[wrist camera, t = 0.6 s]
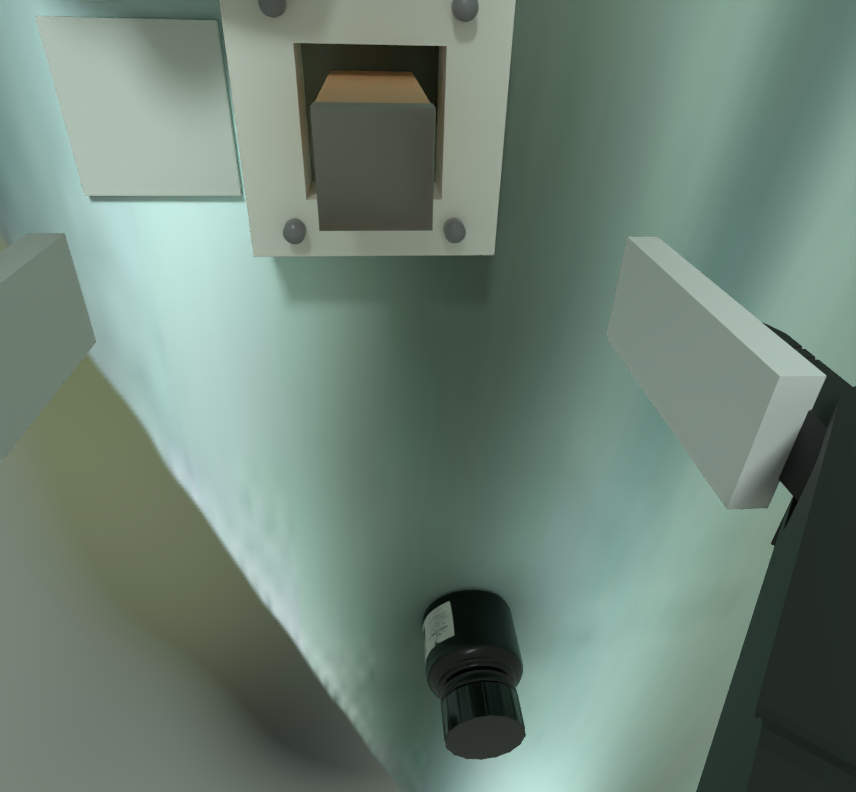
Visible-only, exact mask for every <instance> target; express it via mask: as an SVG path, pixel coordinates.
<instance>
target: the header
mask: <svg viewBox="0 0 856 792" xmlns="http://www.w3.org/2000/svg"><path fill="white" fill-rule="evenodd" d="M515 1H516V0H219V4H220V11H221V18H222V26H223V33H224V40H225V48H226V55H227V62H228V70H229V77H230V84H231V92H232V99H233V106H234V114H235V121H236V128H237V136H238V143H239V150H240V158H241V165H242V172H243V180H244V187H245V194H246V202H247V209H248V216H249V224H250V231H251V238H252V246H253V253H254V257H295V256H429V255H494V252H495V240H496V228H497V216H498V204H499V192H500V180H501V168H502V156H503V144H504V132H505V120H506V108H507V97H508V85H509V73H510V61H511V49H512V37H513V25H514V13H515ZM301 43H321V44H370V45H419V46H439V61H438V97H437V133H436V169H435V182H434V194H433V231H319V220H318V207H317V193H316V181H312V177H311V164H310V151H309V138H308V125H307V113H306V100H305V87H304V74H303V61H302V48H301Z"/></svg>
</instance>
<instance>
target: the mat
mask: <svg viewBox="0 0 856 792" xmlns="http://www.w3.org/2000/svg"><path fill="white" fill-rule="evenodd" d="M35 17H36V20H37V24H38V28H39V31H40V35H41V39H42V42H43V46H44V49H45V53H46V57H47V60H48V64H49V67H50V71H51V75H52V78H53V82H54V86H55V89H56V93H57V96H58V100H59V104H60V107H61V111H62V115H63V118H64V122H65V125H66V129H67V133H68V136H69V140H70V144H71V147H72V151H73V154H74V158H75V162H76V165H77V169H78V173H79V176H80V180H81V183H82V187H83V191H84V194H85V196H241V195H242V191H241V183H240V176H239V169H238V162H237V155H236V148H235V140H234V133H233V126H232V119H231V112H230V105H229V97H228V90H227V83H226V76H225V69H224V61H223V54H222V47H221V40H220V33H219V26H218V20H189V19H145V18H102V17H59V16H35Z"/></svg>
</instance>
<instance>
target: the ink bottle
mask: <svg viewBox="0 0 856 792" xmlns="http://www.w3.org/2000/svg"><path fill="white" fill-rule="evenodd" d="M422 630H423V642H424V654H425V665H426V675H427V681H428V685H429V687H430V689H431V691H432V692H433V693H434V694H435V695H436V696H437V697H438V698H439V699H441V711H442V721H443V731H444V740H445V743H446V748H447V749H448V750H449V751H451V752H452V753H453V754H454V755H457V756H460V757H463V758H465V759H480V760H481V759H486V758H493V757H498V756H500V755H503V754H505V753H508V752H511V751H512V750H513V749H514V748H516V747H517V746H519V745H520V744H521V742H522V740H523V739H524V737H525V736H526V734H525V726H524V721H523V716H522V712H521V707H520V702H519V698H518V694H517V691H516V687H517V685H518V684H519V682H520V680H521V677H522V674H523V663H522V658H521V654H520V649H519V645H518V641H517V637H516V632H515V628H514V624H513V619H512V615H511V611H510V608H509V606H508V605H507V603H506V602H505V601H504V600H503V599H502V598H501V597H500V596H498V595H496V594H494V593H491V592H488V591H482V590H464V591H458V592H453V593H450V594H447V595H445V596H442V597H440V598H439V599H437V600H436V601H434V602H433V603H432V604H431V605H430V606H429V607H428V609H427V610H426V612H425V614H424V617H423V621H422Z"/></svg>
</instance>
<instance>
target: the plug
mask: <svg viewBox="0 0 856 792" xmlns="http://www.w3.org/2000/svg"><path fill="white" fill-rule="evenodd" d="M310 113H311V127H312V140H313V153H314V167H315V180H316V193H317V207H318V220H319V231H433V194H434V157H435V119H436V108H435V106H434V104H433V103H430V101H429V100H428V98H427V96H426V95H425V93H424V91H423V90H422V88H421V86H420V85H419V83H418V81H417V80H416V78H415V76H414V75H413V73H412V71H354V70H330V72H329V74H328V76H327V78H326V80H325V82H324V84H323V86H322V88H321V90H320V92H319V94H318V96H317V98H316V100H315V102H312V104H311V106H310Z"/></svg>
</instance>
